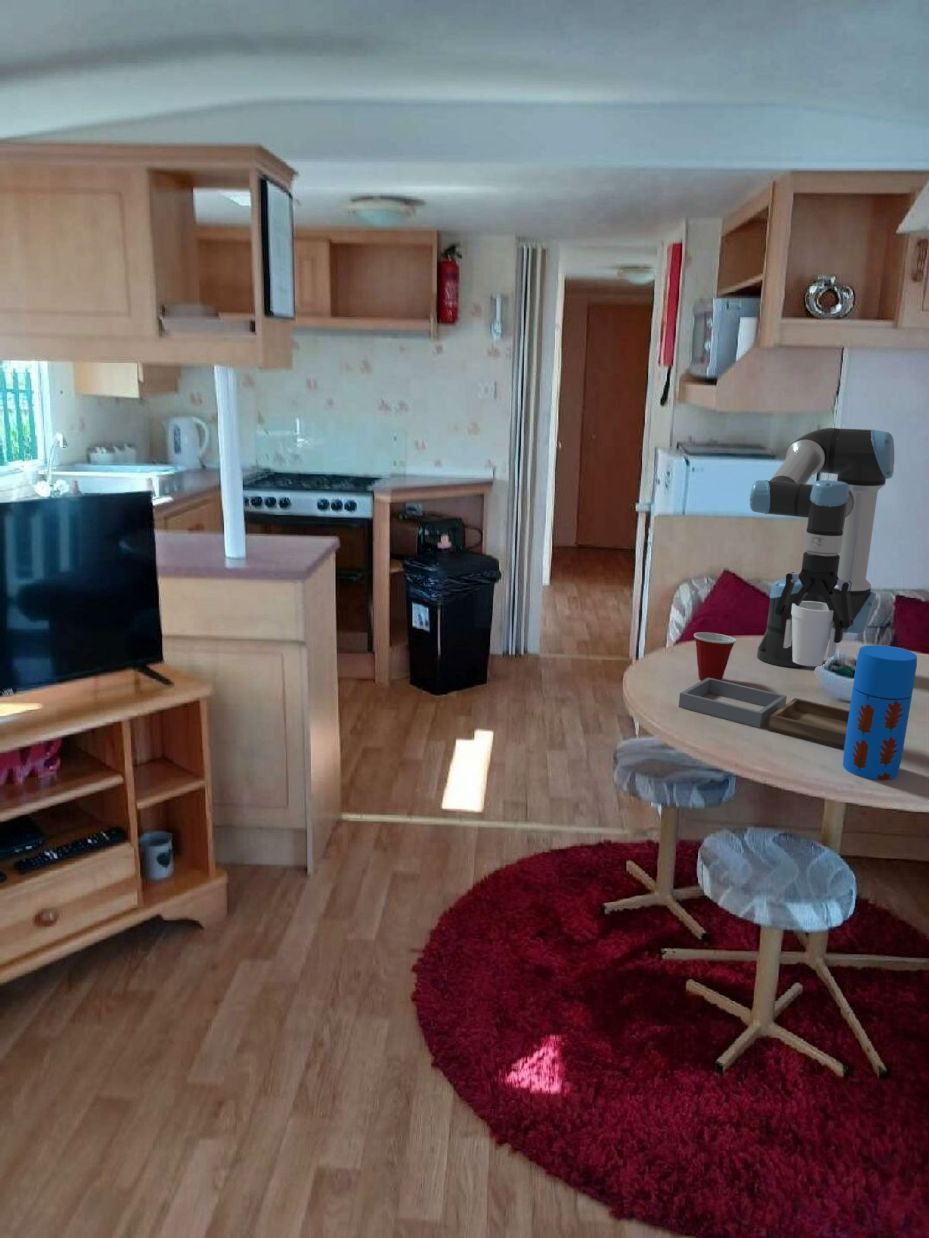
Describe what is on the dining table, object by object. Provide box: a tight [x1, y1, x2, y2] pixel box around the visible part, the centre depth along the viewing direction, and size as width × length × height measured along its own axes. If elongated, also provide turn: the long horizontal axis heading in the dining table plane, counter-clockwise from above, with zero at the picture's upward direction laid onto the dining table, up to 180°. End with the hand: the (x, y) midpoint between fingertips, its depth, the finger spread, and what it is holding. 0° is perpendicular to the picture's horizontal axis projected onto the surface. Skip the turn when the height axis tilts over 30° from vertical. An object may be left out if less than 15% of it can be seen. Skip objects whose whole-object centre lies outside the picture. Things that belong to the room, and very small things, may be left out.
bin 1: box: [678, 678, 788, 729], centre depth 226 cm, size 16×20×4 cm
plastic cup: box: [693, 631, 737, 682], centre depth 246 cm, size 11×11×12 cm
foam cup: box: [791, 601, 834, 667], centre depth 211 cm, size 10×9×13 cm
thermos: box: [842, 644, 918, 781], centre depth 191 cm, size 11×11×25 cm
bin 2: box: [768, 697, 850, 751], centre depth 213 cm, size 16×20×4 cm
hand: (808, 651), depth 212 cm, fingers closed on foam cup, 9 cm apart
